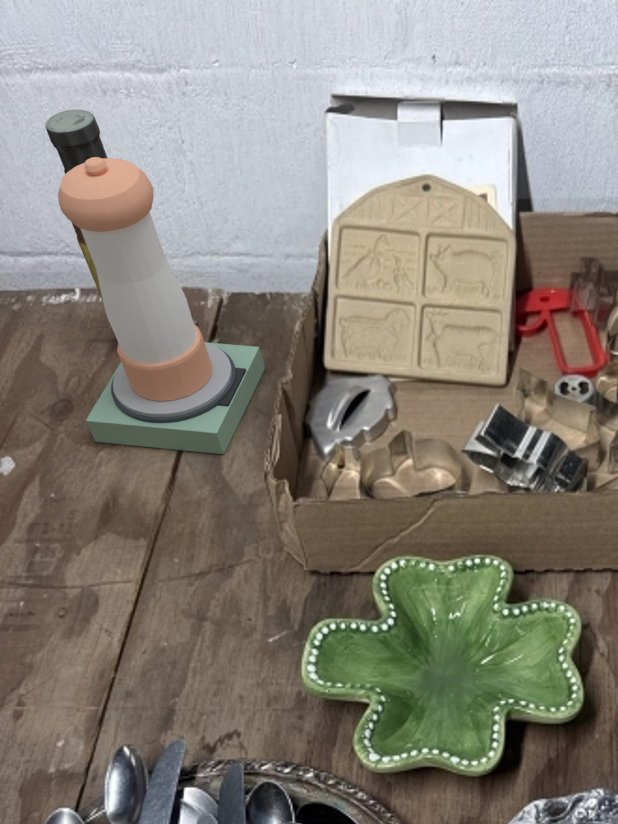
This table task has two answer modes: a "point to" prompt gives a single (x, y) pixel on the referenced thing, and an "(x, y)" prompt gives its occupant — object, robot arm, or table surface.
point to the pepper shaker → (136, 279)
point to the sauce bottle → (77, 154)
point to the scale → (181, 407)
